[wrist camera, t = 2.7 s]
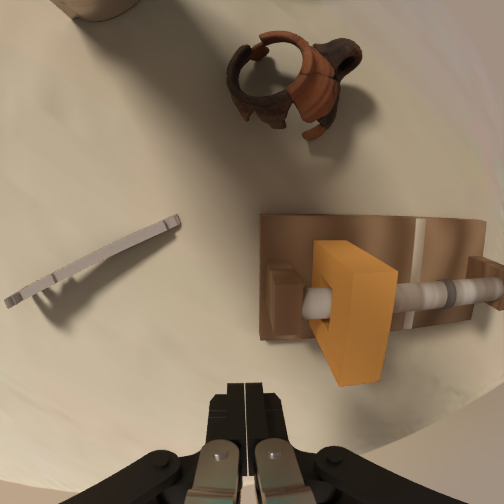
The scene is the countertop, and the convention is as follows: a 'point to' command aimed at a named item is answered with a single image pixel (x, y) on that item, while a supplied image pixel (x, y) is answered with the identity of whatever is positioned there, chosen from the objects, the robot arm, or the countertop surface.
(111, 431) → the countertop surface
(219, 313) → the countertop surface
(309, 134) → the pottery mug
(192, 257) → the countertop surface
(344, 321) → the collar
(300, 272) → the pipe stand
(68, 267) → the caliper
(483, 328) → the countertop surface
